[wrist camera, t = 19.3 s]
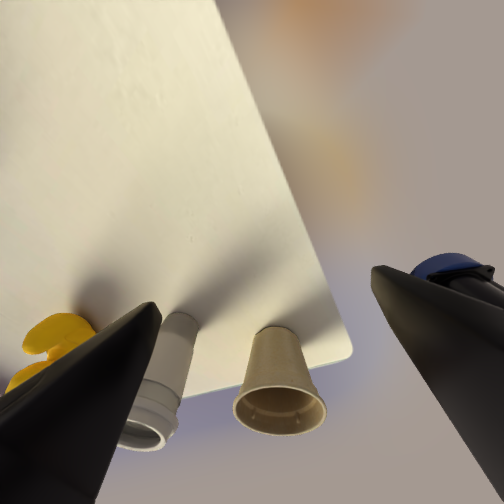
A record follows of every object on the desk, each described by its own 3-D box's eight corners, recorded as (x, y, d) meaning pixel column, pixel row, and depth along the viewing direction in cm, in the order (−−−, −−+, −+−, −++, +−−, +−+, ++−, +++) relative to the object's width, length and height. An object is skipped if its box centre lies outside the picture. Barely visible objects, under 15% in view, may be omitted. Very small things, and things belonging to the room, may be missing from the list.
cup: (216, 322, 27) (185, 435, 17) (194, 349, 30) (156, 461, 19) (166, 297, 26) (98, 404, 15) (148, 328, 29) (79, 436, 18)
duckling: (115, 358, 32) (58, 439, 23) (81, 355, 32) (12, 434, 23) (94, 301, 27) (10, 378, 18) (54, 298, 27) (-49, 373, 18)
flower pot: (229, 327, 28) (215, 398, 20) (295, 307, 25) (308, 377, 18) (258, 369, 31) (256, 441, 24) (319, 354, 29) (338, 429, 21)
